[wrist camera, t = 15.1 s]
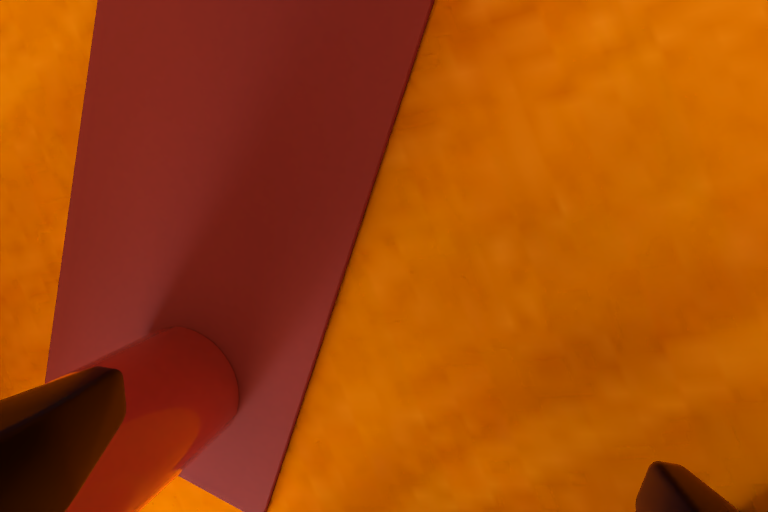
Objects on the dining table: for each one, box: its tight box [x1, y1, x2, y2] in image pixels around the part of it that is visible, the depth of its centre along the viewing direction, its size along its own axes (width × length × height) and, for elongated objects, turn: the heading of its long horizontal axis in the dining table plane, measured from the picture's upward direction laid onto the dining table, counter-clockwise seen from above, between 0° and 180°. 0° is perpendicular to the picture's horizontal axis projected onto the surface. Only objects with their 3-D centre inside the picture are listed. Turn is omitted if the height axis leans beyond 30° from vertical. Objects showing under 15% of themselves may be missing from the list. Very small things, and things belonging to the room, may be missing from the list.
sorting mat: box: [45, 0, 434, 512], centre depth 20 cm, size 14×38×1 cm, turn 160°
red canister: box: [44, 327, 239, 512], centre depth 18 cm, size 7×7×13 cm
